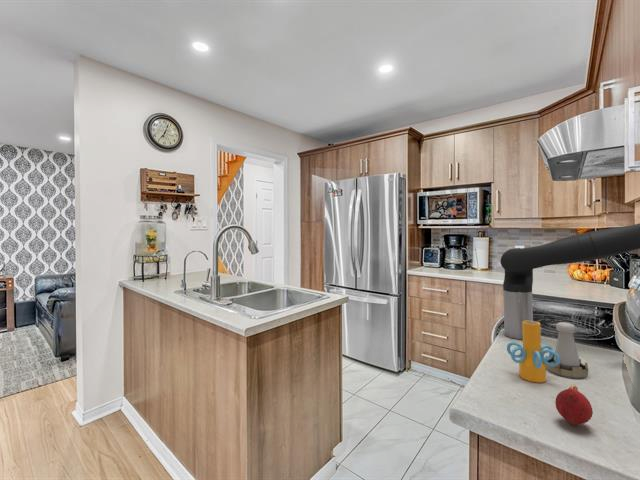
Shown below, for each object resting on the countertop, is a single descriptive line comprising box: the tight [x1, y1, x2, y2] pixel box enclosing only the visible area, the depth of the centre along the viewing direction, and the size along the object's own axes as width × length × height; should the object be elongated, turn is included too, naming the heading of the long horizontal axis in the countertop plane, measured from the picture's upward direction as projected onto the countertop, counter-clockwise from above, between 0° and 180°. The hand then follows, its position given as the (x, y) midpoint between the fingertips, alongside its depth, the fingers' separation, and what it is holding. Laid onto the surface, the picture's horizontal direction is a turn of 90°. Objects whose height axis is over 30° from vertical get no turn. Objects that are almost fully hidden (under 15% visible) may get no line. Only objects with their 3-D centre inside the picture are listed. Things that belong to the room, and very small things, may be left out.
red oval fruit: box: [554, 384, 594, 427], centre depth 62 cm, size 6×6×8 cm
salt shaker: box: [554, 321, 580, 370], centre depth 86 cm, size 6×6×13 cm
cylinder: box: [506, 320, 560, 384], centre depth 83 cm, size 12×10×15 cm
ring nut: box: [544, 355, 589, 380], centre depth 86 cm, size 9×9×3 cm
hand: (613, 336), depth 84 cm, fingers open, 8 cm apart
